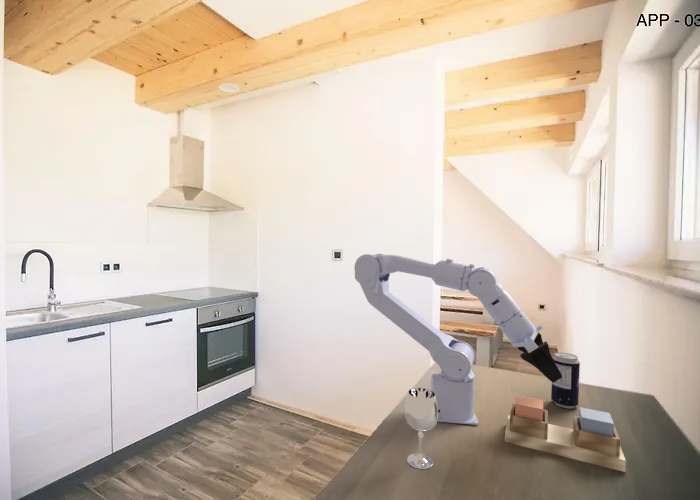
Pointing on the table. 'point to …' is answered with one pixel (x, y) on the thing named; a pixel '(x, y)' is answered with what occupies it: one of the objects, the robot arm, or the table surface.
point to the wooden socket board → (565, 441)
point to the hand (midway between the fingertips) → (554, 374)
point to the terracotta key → (529, 408)
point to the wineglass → (421, 421)
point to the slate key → (596, 422)
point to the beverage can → (566, 381)
